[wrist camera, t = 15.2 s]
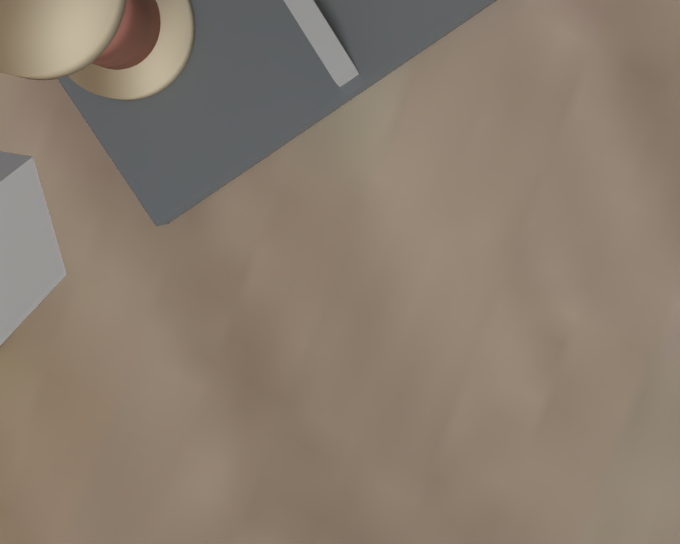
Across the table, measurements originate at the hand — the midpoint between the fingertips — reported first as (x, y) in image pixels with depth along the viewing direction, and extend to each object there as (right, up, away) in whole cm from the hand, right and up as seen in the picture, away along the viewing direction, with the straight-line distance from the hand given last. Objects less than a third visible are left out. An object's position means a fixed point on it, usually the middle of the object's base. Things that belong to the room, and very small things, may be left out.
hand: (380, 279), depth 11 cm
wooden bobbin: (-10, +11, +17) cm, 23 cm away
